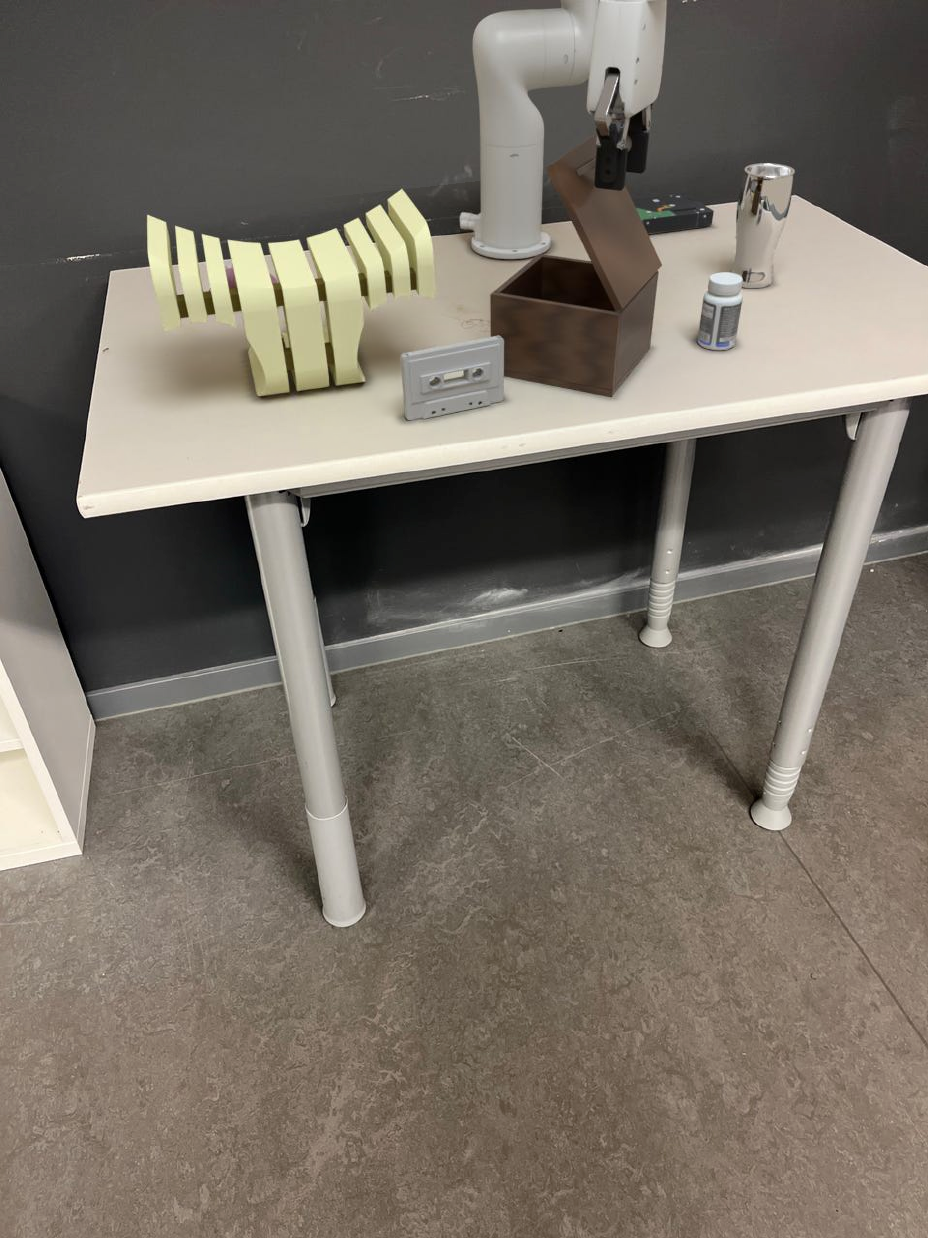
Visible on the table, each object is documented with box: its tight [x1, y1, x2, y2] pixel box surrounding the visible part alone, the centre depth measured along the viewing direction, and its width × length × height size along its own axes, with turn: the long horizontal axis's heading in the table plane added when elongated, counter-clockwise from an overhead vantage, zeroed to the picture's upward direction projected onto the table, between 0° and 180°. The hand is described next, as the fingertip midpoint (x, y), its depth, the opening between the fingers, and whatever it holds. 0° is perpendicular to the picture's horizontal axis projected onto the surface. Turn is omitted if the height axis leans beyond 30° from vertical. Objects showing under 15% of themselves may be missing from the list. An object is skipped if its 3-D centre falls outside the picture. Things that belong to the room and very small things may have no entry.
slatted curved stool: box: [146, 188, 437, 397], centre depth 109 cm, size 30×16×18 cm, turn 105°
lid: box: [545, 132, 663, 312], centre depth 101 cm, size 16×15×5 cm
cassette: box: [400, 335, 505, 421], centre depth 103 cm, size 12×2×8 cm, turn 112°
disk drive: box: [632, 193, 715, 235], centre depth 153 cm, size 10×3×15 cm
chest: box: [489, 253, 660, 398], centre depth 112 cm, size 16×15×10 cm
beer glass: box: [729, 162, 796, 289], centre depth 129 cm, size 7×7×15 cm
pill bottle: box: [697, 271, 744, 351], centre depth 115 cm, size 5×5×8 cm
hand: (620, 178), depth 99 cm, fingers closed on lid, 6 cm apart
